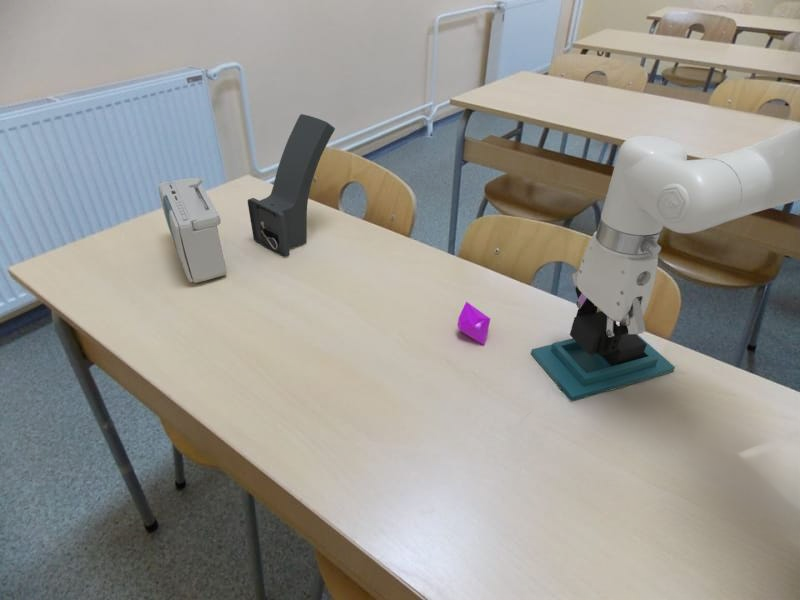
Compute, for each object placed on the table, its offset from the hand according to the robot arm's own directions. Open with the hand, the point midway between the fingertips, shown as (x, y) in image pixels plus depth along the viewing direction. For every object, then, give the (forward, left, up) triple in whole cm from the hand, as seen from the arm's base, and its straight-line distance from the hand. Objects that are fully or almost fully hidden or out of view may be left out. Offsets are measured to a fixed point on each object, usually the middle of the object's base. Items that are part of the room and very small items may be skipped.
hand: (593, 339), depth 78 cm
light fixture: (+56, +34, -6) cm, 66 cm away
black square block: (0, 0, 0) cm, 0 cm away
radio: (+53, +55, -6) cm, 77 cm away
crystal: (+13, +13, -6) cm, 19 cm away
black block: (0, -6, -5) cm, 7 cm away
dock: (0, -3, -6) cm, 6 cm away
